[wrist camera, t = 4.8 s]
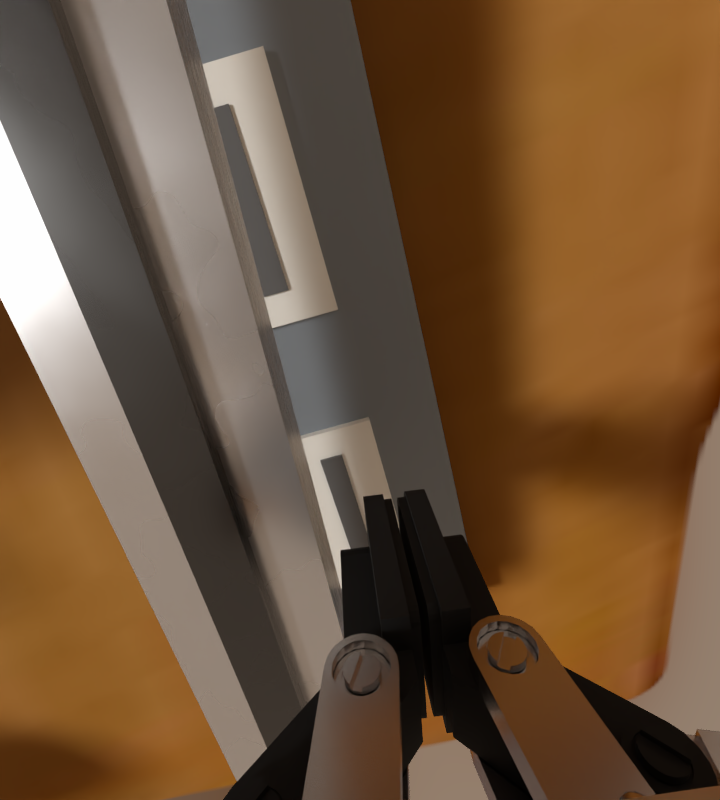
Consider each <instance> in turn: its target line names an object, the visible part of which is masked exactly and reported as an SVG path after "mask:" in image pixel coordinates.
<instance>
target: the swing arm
mask: <svg viewBox="0 0 720 800" xmlns="http://www.w3.org/2000/svg"><path fill="white" fill-rule="evenodd" d="M0 298H1V300H2V302H3V304H4V306H5V308H6V310H7V312H8V314H9V316H10V318H11V320H12V322H13V324H14V326H15V329H16V331H17V333H18V335H19V337H20V339H21V341H22V343H23V345H24V347H25V349H26V351H27V353H28V355H29V357H30V359H31V361H32V363H33V365H34V367H35V369H36V371H37V374H38V376H39V378H40V380H41V382H42V384H43V386H44V388H45V390H46V392H47V394H48V396H49V398H50V400H51V402H52V404H53V406H54V408H55V410H56V412H57V414H58V416H59V419H60V421H61V423H62V425H63V427H64V429H65V431H66V433H67V435H68V437H69V439H70V441H71V443H72V445H73V447H74V449H75V451H76V453H77V455H78V457H79V459H80V461H81V463H82V466H83V468H84V470H85V472H86V474H87V476H88V478H89V480H90V482H91V484H92V486H93V488H94V490H95V492H96V494H97V496H98V498H99V500H100V502H101V504H102V506H103V508H104V511H105V513H106V515H107V517H108V519H109V521H110V523H111V525H112V527H113V529H114V531H115V533H116V535H117V537H118V539H119V541H120V543H121V545H122V547H123V549H124V551H125V553H126V556H127V558H128V560H129V562H130V564H131V566H132V568H133V570H134V572H135V574H136V576H137V578H138V580H139V582H140V584H141V586H142V588H143V590H144V592H145V594H146V596H147V598H148V601H149V603H150V605H151V607H152V609H153V611H154V613H155V615H156V617H157V619H158V621H159V623H160V625H161V627H162V629H163V631H164V633H165V635H166V637H167V639H168V641H169V643H170V645H171V648H172V650H173V652H174V654H175V656H176V658H177V660H178V662H179V664H180V666H181V668H182V670H183V672H184V674H185V676H186V678H187V680H188V682H189V684H190V686H191V688H192V690H193V693H194V695H195V697H196V699H197V701H198V703H199V705H200V707H201V709H202V711H203V713H204V715H205V717H206V719H207V721H208V723H209V725H210V727H211V729H212V731H213V733H214V735H215V738H216V740H217V742H218V744H219V746H220V748H221V750H222V752H223V754H224V756H225V758H226V760H227V762H228V764H229V766H230V768H231V770H232V772H233V774H234V776H235V778H236V780H237V781H238V780H239V779H240V778H241V777H242V776H243V774H244V773H245V772H246V771H247V770H248V769H249V768H250V767H251V766H252V764H253V763H254V762H255V761H256V760H257V759H258V758H259V757H260V756H261V754H262V753H263V752H264V751H265V750H266V749H267V748H268V747H269V746H270V744H271V743H272V742H273V741H274V740H275V739H276V738H277V737H278V736H279V734H280V733H281V732H282V731H283V730H284V729H285V728H286V727H287V726H288V724H289V723H290V722H291V721H292V720H293V719H294V718H295V717H296V715H297V714H298V713H299V712H300V711H301V710H302V709H303V708H304V707H305V705H306V704H307V703H308V702H309V701H310V700H311V699H312V698H313V697H314V695H315V694H316V693H317V692H318V691H319V690H320V688H321V681H322V675H323V669H324V665H325V662H326V659H327V656H328V654H329V653H330V651H331V650H332V648H333V647H334V646H335V645H336V644H338V643H339V642H340V641H341V640H342V639H344V627H343V603H342V590H341V587H340V583H339V579H338V575H337V571H336V568H335V564H334V560H333V556H332V553H331V549H330V545H329V541H328V537H327V534H326V530H325V526H324V522H323V518H322V515H321V511H320V507H319V503H318V500H317V496H316V492H315V488H314V484H313V481H312V477H311V473H310V469H309V466H308V462H307V458H306V454H305V450H304V447H303V443H302V439H301V435H300V431H299V428H298V424H297V420H296V416H295V413H294V409H293V405H292V401H291V397H290V394H289V390H288V386H287V382H286V378H285V375H284V371H283V367H282V363H281V360H280V356H279V352H278V348H277V344H276V341H275V337H274V333H273V329H272V326H271V322H270V318H269V314H268V310H267V307H266V303H265V299H264V295H263V291H262V288H261V284H260V280H259V276H258V273H257V269H256V265H255V261H254V257H253V254H252V250H251V246H250V242H249V238H248V235H247V231H246V227H245V223H244V220H243V216H242V212H241V208H240V204H239V201H238V197H237V193H236V189H235V186H234V182H233V178H232V174H231V170H230V167H229V163H228V159H227V155H226V151H225V148H224V144H223V140H222V136H221V133H220V129H219V125H218V121H217V117H216V114H215V110H214V106H213V102H212V98H211V95H210V91H209V87H208V83H207V80H206V76H205V72H204V68H203V64H202V61H201V57H200V53H199V49H198V46H197V42H196V38H195V34H194V30H193V27H192V23H191V19H190V15H189V11H188V8H187V4H186V0H0Z"/></svg>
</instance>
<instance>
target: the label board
mask: <svg viewBox="0 0 720 800" xmlns="http://www.w3.org/2000/svg"><path fill="white" fill-rule="evenodd" d="M186 4H187V8H188V11H189V15H190V19H191V23H192V27H193V30H194V34H195V38H196V42H197V46H198V49H199V53H200V57H201V61H202V64H203V68H204V72H205V76H206V80H207V83H208V87H209V91H210V95H211V98H212V102H213V106H214V110H215V114H216V117H217V121H218V125H219V129H220V133H221V136H222V140H223V144H224V148H225V151H226V155H227V159H228V163H229V167H230V170H231V174H232V178H233V182H234V186H235V189H236V193H237V197H238V201H239V204H240V208H241V212H242V216H243V220H244V223H245V227H246V231H247V235H248V238H249V242H250V246H251V250H252V254H253V257H254V261H255V265H256V269H257V273H258V276H259V280H260V284H261V288H262V291H263V295H264V299H265V303H266V307H267V310H268V314H269V318H270V322H271V326H272V329H273V333H274V337H275V341H276V344H277V348H278V352H279V356H280V360H281V363H282V367H283V371H284V375H285V378H286V382H287V386H288V390H289V394H290V397H291V401H292V405H293V409H294V413H295V416H296V420H297V424H298V428H299V431H300V435H301V439H302V443H303V447H304V450H305V454H306V458H307V462H308V466H309V469H310V473H311V477H312V481H313V484H314V488H315V492H316V496H317V500H318V503H319V507H320V511H321V515H322V518H323V522H324V526H325V530H326V534H327V537H328V541H329V545H330V549H331V553H332V556H333V560H334V564H335V568H336V571H337V575H338V579H339V583H340V587H341V590H342V580H341V556H340V551H341V550H345V549H353V548H361V547H368V546H369V545H368V536H367V527H366V518H365V509H364V500H363V496H371V495H379V494H383V497H384V499H392V503H393V507H394V511H395V515H396V519H397V523H398V527H399V520H398V507H397V498H398V497H404V491H410V490H418V489H424V490H425V492H426V494H427V497H428V499H429V502H430V504H431V507H432V509H433V512H434V515H435V517H436V520H437V522H438V525H439V527H440V530H441V533H442V535H443V537H445V536H453V535H460V534H461V535H463V537H464V538H465V540H466V542H467V539H466V534H465V530H464V525H463V520H462V516H461V511H460V506H459V502H458V497H457V492H456V488H455V483H454V479H453V474H452V469H451V465H450V460H449V455H448V451H447V446H446V441H445V437H444V432H443V427H442V423H441V418H440V414H439V409H438V404H437V400H436V395H435V390H434V386H433V381H432V376H431V372H430V367H429V362H428V358H427V353H426V349H425V344H424V339H423V335H422V330H421V325H420V321H419V316H418V311H417V307H416V302H415V298H414V293H413V288H412V284H411V279H410V274H409V270H408V265H407V260H406V256H405V251H404V246H403V242H402V237H401V233H400V228H399V223H398V219H397V214H396V209H395V205H394V200H393V195H392V191H391V186H390V181H389V177H388V172H387V168H386V163H385V158H384V154H383V149H382V144H381V140H380V135H379V130H378V126H377V121H376V116H375V112H374V107H373V103H372V98H371V93H370V89H369V84H368V79H367V75H366V70H365V65H364V61H363V56H362V51H361V47H360V42H359V38H358V33H357V28H356V24H355V19H354V14H353V10H352V5H351V0H186ZM467 545H468V544H467Z"/></svg>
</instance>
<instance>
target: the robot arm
mask: <svg viewBox="0 0 720 800" xmlns="http://www.w3.org/2000/svg"><path fill="white" fill-rule="evenodd" d="M363 500H364V509H365V518H366V527H367V536H368V545H369V546H368V547H361V548H353V549H345V550H341V551H340V556H341V580H342V603H343V627H344V639H342V640H341V641H340V642H339V643H338V644H336V645H335V646H334V647H333V648H332V650H331V651H330V653H329V654H328V656H327V659H326V662H325V665H324V669H323V675H322V681H321V688H320V690H319V691H318V692H317V693H316V694H315V695H314V697H313V698H312V699H311V700H310V701H309V702H308V703H307V704H306V705H305V707H304V708H303V709H302V710H301V711H300V712H299V713H298V714H297V715H296V717H295V718H294V719H293V720H292V721H291V722H290V723H289V724H288V726H287V727H286V728H285V729H284V730H283V731H282V732H281V733H280V734H279V736H278V737H277V738H276V739H275V740H274V741H273V742H272V743H271V744H270V746H269V747H268V748H267V749H266V750H265V751H264V752H263V753H262V754H261V756H260V757H259V758H258V759H257V760H256V761H255V762H254V763H253V764H252V766H251V767H250V768H249V769H248V770H247V771H246V772H245V773H244V774H243V776H242V777H241V778H240V779H239V780H238V781H237V782H236V783H235V784H234V786H233V787H232V788H231V790H230V791H229V792H228V794H227V795H226V797H225V798H224V799H223V800H410V790H409V768H408V765H409V763H410V761H411V760H412V758H413V757H414V755H415V753H416V752H417V750H418V749H419V747H420V746H421V744H422V742H423V736H422V722H421V718H427V713H426V697H425V682H424V676H425V681H426V685H427V690H428V694H429V699H430V703H431V708H432V712H433V715H434V717H435V716H442V715H443V719H444V724H445V728H446V732H447V733H451V732H453V736H454V738H455V739H457V740H458V741H459V742H461V743H462V744H463V745H465V746H466V747H467V748H469V749H470V753H471V757H472V760H473V764H474V766H475V768H476V771H477V773H478V776H479V778H480V780H481V782H482V785H483V788H484V790H485V792H486V795H487V797H488V799H489V800H720V732H719V731H710V730H700V729H697V731H696V735H686V734H685V733H684V732H682V731H680V730H679V729H678V728H676V727H674V726H673V725H671V724H670V723H668V722H666V721H665V720H663V719H661V718H659V717H657V716H655V715H653V714H652V713H650V712H648V711H646V710H644V709H642V708H640V707H638V706H637V705H635V704H633V703H631V702H629V701H627V700H625V699H623V698H622V697H620V696H618V695H616V694H614V693H612V692H610V691H608V690H606V689H605V688H603V687H601V686H599V685H597V684H595V683H593V682H591V681H590V680H588V679H586V678H584V677H582V676H580V675H578V674H576V673H575V672H573V671H571V670H569V669H567V668H565V667H563V666H562V665H561V663H560V662H559V660H558V659H557V658H556V656H555V655H554V654H553V652H552V651H551V649H550V648H549V647H548V645H547V644H546V643H545V641H544V640H543V638H542V637H541V636H540V635H539V634H538V633H537V632H536V630H535V629H534V628H533V627H531V626H530V625H528V624H527V623H525V622H524V621H522V620H520V619H517V618H514V617H511V616H505V615H500V614H499V612H498V610H497V607H496V605H495V603H494V601H493V599H492V597H491V594H490V592H489V590H488V588H487V586H486V584H485V581H484V579H483V577H482V575H481V573H480V571H479V568H478V566H477V564H476V562H475V560H474V558H473V555H472V553H471V551H470V549H469V547H468V545H467V542H466V540H465V538H464V537H463V535H461V534H460V535H453V536H445V537H443V535H442V533H441V530H440V527H439V525H438V522H437V520H436V517H435V515H434V512H433V509H432V507H431V504H430V502H429V499H428V497H427V494H426V492H425V490H424V489H418V490H410V491H404V497H398V498H397V507H398V520H399V527H398V523H397V519H396V515H395V511H394V507H393V503H392V499H384V497H383V494H379V495H371V496H363Z"/></svg>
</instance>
